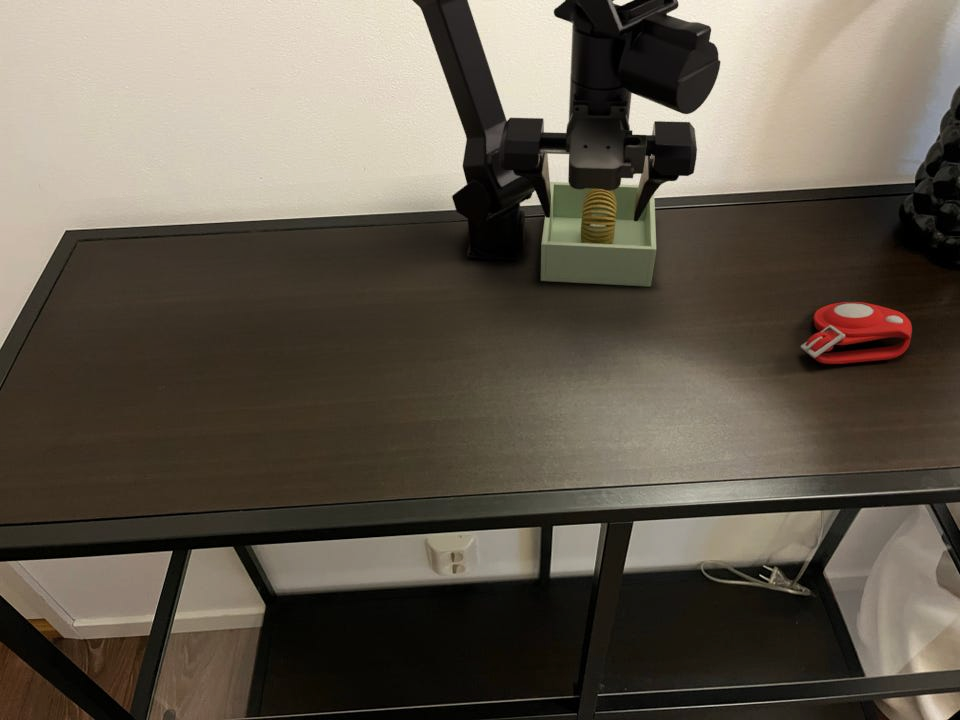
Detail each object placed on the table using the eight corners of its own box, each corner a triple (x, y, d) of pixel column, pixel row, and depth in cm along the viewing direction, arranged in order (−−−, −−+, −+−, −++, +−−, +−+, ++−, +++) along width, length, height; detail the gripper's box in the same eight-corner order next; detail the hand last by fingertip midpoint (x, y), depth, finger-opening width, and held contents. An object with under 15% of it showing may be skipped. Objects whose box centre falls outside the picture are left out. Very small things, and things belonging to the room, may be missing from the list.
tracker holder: (816, 290, 86) (916, 296, 81) (814, 325, 88) (911, 332, 83) (798, 337, 77) (909, 347, 72) (796, 374, 79) (904, 386, 74)
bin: (540, 281, 91) (541, 244, 87) (548, 217, 100) (549, 181, 96) (650, 286, 89) (656, 249, 85) (648, 221, 98) (653, 185, 94)
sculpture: (582, 226, 97) (586, 173, 91) (614, 228, 97) (619, 174, 91) (578, 265, 92) (581, 210, 86) (611, 267, 91) (616, 212, 85)
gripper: (489, 116, 64) (495, 260, 75) (713, 122, 61) (684, 270, 73) (504, 59, 71) (507, 197, 83) (704, 62, 69) (679, 204, 80)
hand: (591, 217), depth 79 cm, fingers open, 9 cm apart
